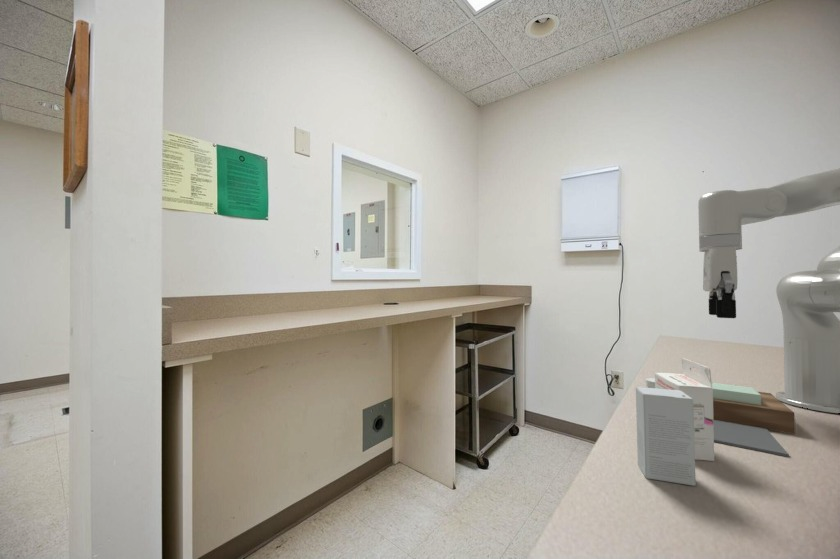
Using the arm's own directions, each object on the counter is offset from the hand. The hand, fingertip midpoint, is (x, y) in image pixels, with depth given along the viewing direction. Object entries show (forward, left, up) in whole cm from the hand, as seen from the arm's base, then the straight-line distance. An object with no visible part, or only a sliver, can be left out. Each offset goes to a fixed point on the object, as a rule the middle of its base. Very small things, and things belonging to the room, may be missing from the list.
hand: (721, 316), depth 78 cm
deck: (+6, 0, -21) cm, 22 cm away
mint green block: (+8, 0, -17) cm, 19 cm away
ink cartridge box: (+32, -10, -21) cm, 40 cm away
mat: (+20, -3, -21) cm, 29 cm away
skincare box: (+44, -13, -21) cm, 51 cm away
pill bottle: (+21, -13, -21) cm, 33 cm away
